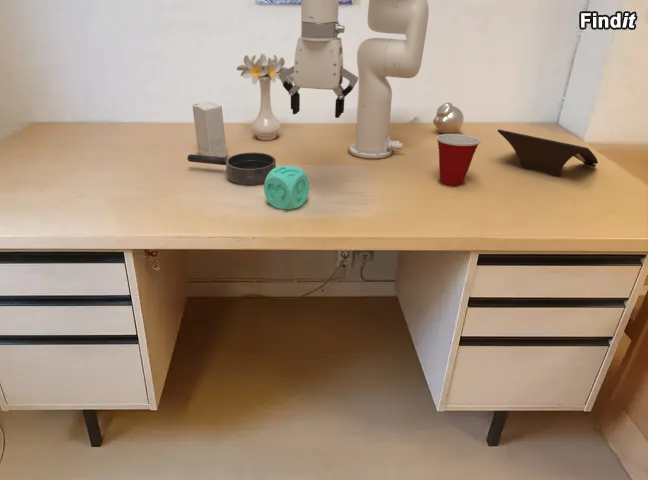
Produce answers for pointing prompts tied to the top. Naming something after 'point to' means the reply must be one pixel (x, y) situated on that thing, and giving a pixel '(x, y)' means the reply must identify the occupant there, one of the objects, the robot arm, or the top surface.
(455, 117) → the silver rounded lump
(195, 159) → the pan handle
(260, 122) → the flower vase
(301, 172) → the decorative dice
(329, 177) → the top surface
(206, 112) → the cosmetic box
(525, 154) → the laptop tray
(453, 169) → the plastic cup
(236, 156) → the pan
